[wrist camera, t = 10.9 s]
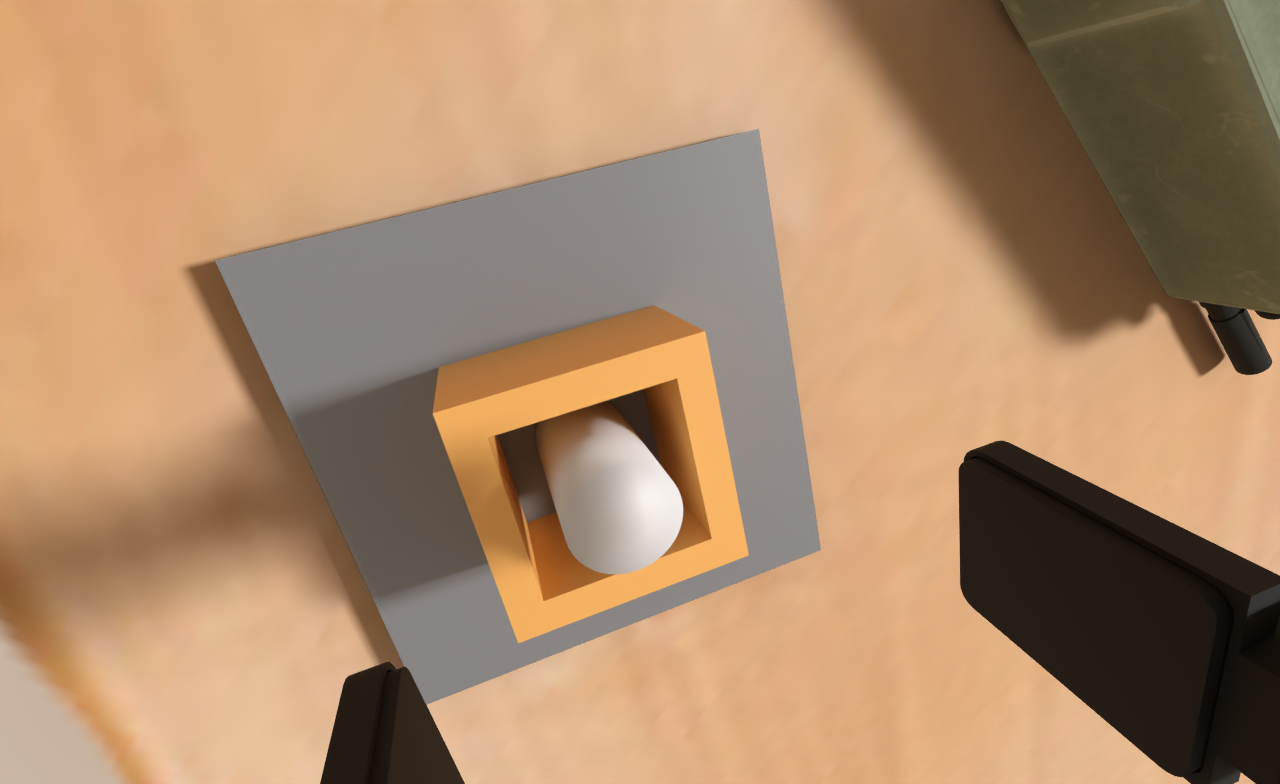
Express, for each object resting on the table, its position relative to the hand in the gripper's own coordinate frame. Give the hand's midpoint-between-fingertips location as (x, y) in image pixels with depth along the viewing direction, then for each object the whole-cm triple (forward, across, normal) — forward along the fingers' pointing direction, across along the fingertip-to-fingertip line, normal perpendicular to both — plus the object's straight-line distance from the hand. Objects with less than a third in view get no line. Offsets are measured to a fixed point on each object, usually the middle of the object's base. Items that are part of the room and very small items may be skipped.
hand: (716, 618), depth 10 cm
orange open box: (+11, +1, +1) cm, 11 cm away
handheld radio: (+13, -24, -2) cm, 27 cm away
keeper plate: (+12, +1, +2) cm, 12 cm away
